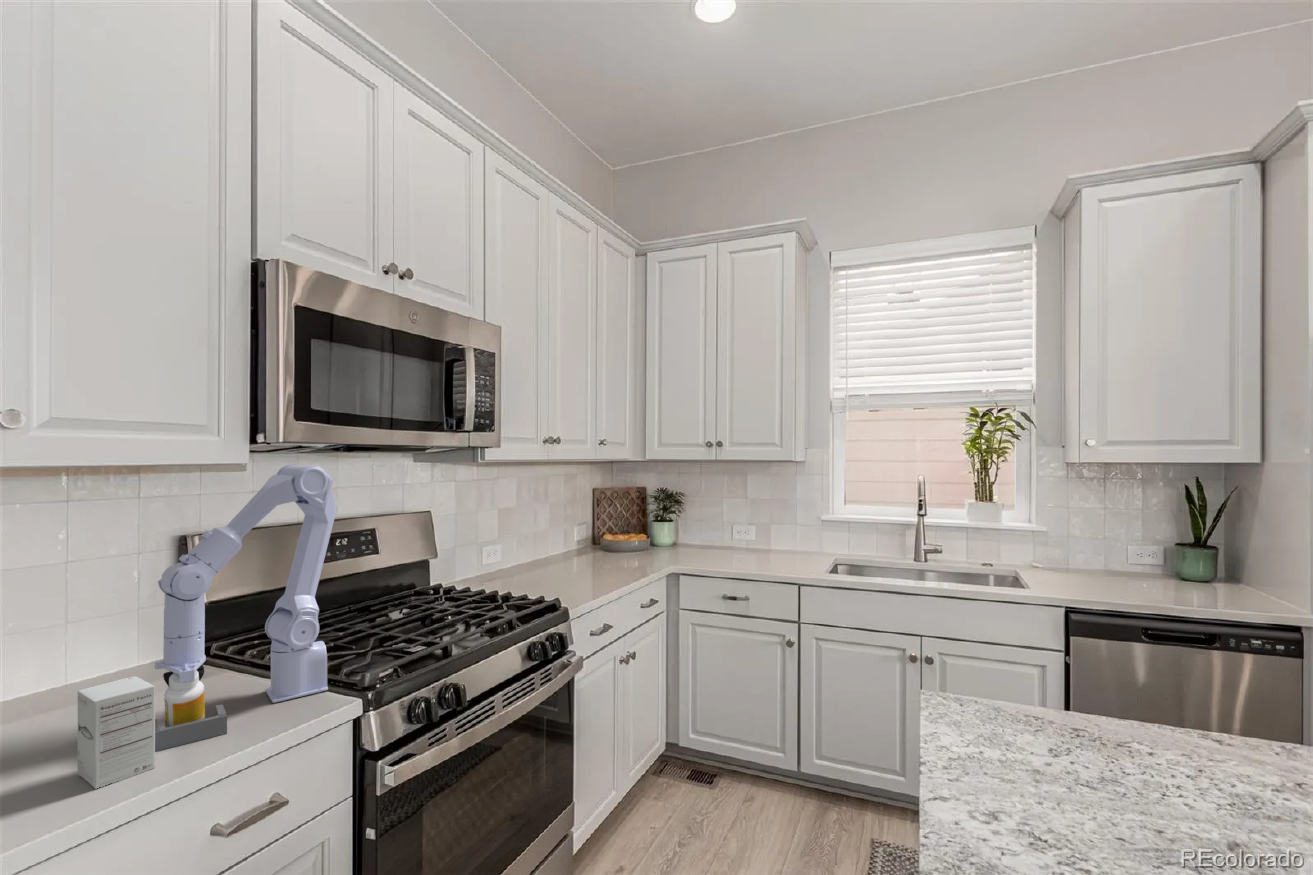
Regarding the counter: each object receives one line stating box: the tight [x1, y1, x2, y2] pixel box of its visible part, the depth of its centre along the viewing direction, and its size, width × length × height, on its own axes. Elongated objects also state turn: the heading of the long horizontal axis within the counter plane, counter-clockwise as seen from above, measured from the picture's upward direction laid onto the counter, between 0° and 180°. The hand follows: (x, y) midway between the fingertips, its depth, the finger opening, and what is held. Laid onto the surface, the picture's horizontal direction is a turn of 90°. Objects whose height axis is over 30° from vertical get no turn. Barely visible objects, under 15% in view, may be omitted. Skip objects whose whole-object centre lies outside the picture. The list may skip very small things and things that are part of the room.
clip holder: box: [155, 703, 228, 752], centre depth 106 cm, size 10×6×3 cm, turn 130°
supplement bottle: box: [163, 670, 206, 728], centre depth 108 cm, size 5×5×10 cm
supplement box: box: [77, 675, 156, 790], centre depth 95 cm, size 7×7×13 cm
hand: (183, 712), depth 111 cm, fingers closed, pressing on supplement bottle
